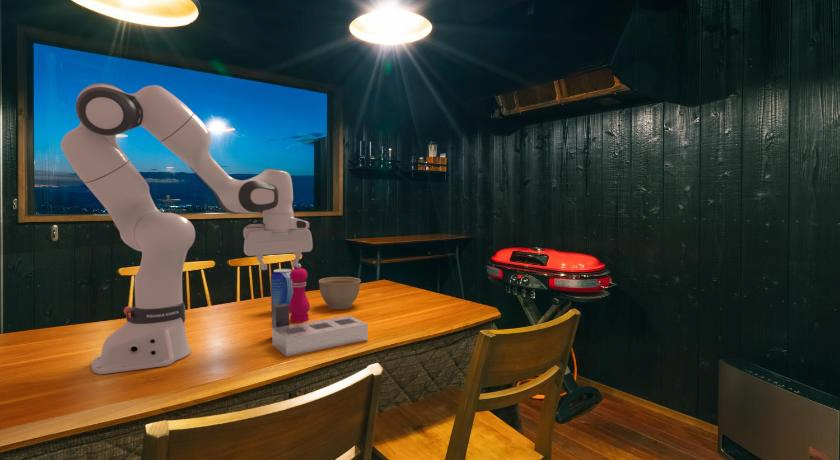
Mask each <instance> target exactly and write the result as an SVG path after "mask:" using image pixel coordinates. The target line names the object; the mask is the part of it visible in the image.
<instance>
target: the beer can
mask: <svg viewBox="0 0 840 460" xmlns="http://www.w3.org/2000/svg"><path fill="white" fill-rule="evenodd" d="M292 270H293V269H291V268H277V269H274V270H273V272H272V274H271V276H270V298H271V300H270V301H271V302H270V303H271V304H270V305H271V311H272V305H275V304H283V303H285V304H287V305H289V303H290V301H291V298H292V295H293V287H292V280H291V279H290V273H291V271H292ZM289 314H291V313H290V311H289Z"/></svg>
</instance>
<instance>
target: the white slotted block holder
mask: <svg viewBox="0 0 840 460" xmlns="http://www.w3.org/2000/svg"><path fill="white" fill-rule="evenodd" d="M368 326H369V325H368V323H367V322H365V321H362V320H360V319H358V318H356V317H353V316H352V315H345V316H344V315H343V316H340V317H339V316H338V317H331V318H326V319H320V320H313V321H309V322H300V323H296V324H289V325H288V326H282V327H276V328H272V327H271V339H272V340H271V341H272V342H271V343H272V346H273V347H274V348H275V349H276V350H278V351H279V352H280V353H281V354H283V355H284V356H285V357H291V356H292V357H293V356H296V355H302V354H306V353H307V354H308V353H311V352H315V351H320V350H321V351H322V350H325V349H330V348H337V347H340V346H345V345H349V344H350V345H352V344H355V343H356V344H357V343H359V342H365V341H368V338H369V337H368V335H369V333H368V332H369V330H368V329H369V327H368Z"/></svg>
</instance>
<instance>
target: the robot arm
mask: <svg viewBox="0 0 840 460" xmlns="http://www.w3.org/2000/svg"><path fill="white" fill-rule="evenodd" d="M75 103H76V104H75V113H76V115H77V118H78V120H79V122H80V123H79V125H78V126H77V127H75V128H73V129H71V130H70V131H68V132H67V133H65V135H64V136H63V138H62V139H61V142H60V148H61V151H62V152H63V154H64V156H65V157H66V158H65V159H66V160H67V161H68V163H69V164H70V166H71V168H72V169H73V170H74V172H75V173H76V175H77V176H78V177H79V178H80V180H81V181H82V182H83V184H85V186H86V187H87V188H88V189H89V190H90V191H91V192H92V194H93V195H94V196H95V198H97V200H98V201H99V203H101V205H102V206H103V207H104V209H105V210H106V212H107V213H108V215H109V216H110V218H111V219H112V221H113V224H114V225H115V227H116V228H117V229H118V231H119V235H120V239H121V240H122V241H123V242H124V244H126V245H127V246H128V247H130V248H132V249H133V250H135V251H137V252H141V254H142V255H141V260H140V265H139V268H138V271H137V272H136V273H135V276H134V301H135V302H134V304H135V306H133V307H131V306H125V307H124V308H123V313H124V315H125V316H126V322H125V323H124V324H123V325H121V326H120V327H119V328H118V329H116V330H114V331H113V333H111V334H110V335H109V336H108V337H107V338H106V339H105V340H104V342H103V345H102V349H101V354H99V355H98V356H96V357H95V358H94V359H93V360H92V361H91V371H92V372H93V373H95V374H98V375H106V374H115V373H120V372H130V371H137V370H144V369H151V368H152V369H153V368H160V367H166V366H170V365H172V364H173V363H174V362H176V361H178V360H181V359H183V358H185V357H187V356H188V355H190V354H191V352H192V350H191V347H190V345H189V341H188V337H187V333H186V327H185V322H186V306H185V305H186V304H185V302H184V300H183V271H184V265H185V263H186V258H187V254H188V251H189V249H190V248H191V247H192V246H193V244H194V242H195V240H196V230H195V227H194V225H193V223H192V222H191V221H190V220H189V219H187V218H186V217H184V216H182V215H179V214H177V213H174V212H162V211H161V210H160V209H158V207H157V206H156V204H155V203H154V200H153V199H152V195H151V193H150V186H149V184H148V183H147V181H146V179H145V178H144V177H143V175H141V173H140V172H139V170H138V169H137V168H136V167H135V165H134V164H133V163H132V162H131V160H130V159H129V158H128V156H127V155H126V153H124V151H123V150H122V148H121V147H120V144H119V143H118V141H117V135H120V134H123V133H125V132H128V131H130V130H132V129H136V128H138V127H141V128H143V129H144V130H146V131H147V132H149V133H150V135H152V136H153V137H154V138H156V140H158V141H159V142H160V143H161V144H162V145H163V146H164V147H165V148H167V149H168V150H169V151H170V152H171V153H173V154H174V155H175V156H176V157H178V158H179V159H180V160H181V161H182V162H184V163H185V164H186V165H187V167H189V168H190V169H191V170H192V172H193V173H194V174H196V175H197V176H198V178H200V180H202V182H203V183H204V184H205V185H206V186H207V187H208V188H209V189H210V190H211V191H212V192H213V194H214V196H215V198H216V200H217V202H218V204H219V206H220V207H221V209H223V210H224V211H225V212H227V213H230V214H233V215H238V214H257V213H261V212H262V219H263V220H262V221H263V222H262V223H257V224H253V223H250V224H248V225H246V226H244V227H243V230H242V233H243V234H242V235H243V239H244V241H243V243H244V244H243V253H244V254H245V255H246V256H248V257H253V256H256V259H257V261H258V263H259V264H260V270H261V271H267V270H268V263H266V262H265V263H264V261H263V259H264V256H267V255H269V256H270V255H281V254H284V255H285V254H294V256H295V258H294V260H292V261H291V267H292V268H296V267H298V264H299V260H300V259H301V258H302V253H308V252H309V253H310V252H311V251H312V250H313V248H314V247H313V246H314V245H313V237H312V232H311V231H310V229H309V228H310V222H309V221H306V220H303V219H300V218H298V217H294V209H293V201H294V189H293V182H292V177H291V174H290V173H289V172H287V171H286V170H282V169H277V168H266V169H264V171H263V172H261V173H259V174H258V175H255V176H253V177H251V178H248V179H244V180H242V179H241V180H240V179H236V178H234V177H232V176H230V175H229V174H228V173H227V172H226V171H225V170H224V169H223V168H222V166H220V165H219V164H218V162H217V161H216V160H215V159H214V158H213V156H212V155H211V153H210V146H211V143H212V136H211V132H210V131H209V128H208V127H207V126H206V124H205V123H204V122H203V121H202V119H201V118H200V117H198V115H197V114H195V112H193V111H192V110H191V108H189V107H188V106H187V105H186V104H185V103H184V102H183V101H181V100H180V99H179V98H178V97H176V96H175V95H174V94H172V93H171V92H170V91H168V90H167V89H165V88H164V87H163V86H161V85H155V84H153V85H147V86H144V87H142V88H140V89H139V90H138V91H137V92H134V93H127V92H124V91H123V90H122V89H121V88H120V87H118V86H115V85H113V84H110V83H106V82H105V83H103V82H99V83H94V84H93V83H92V84H90V85H88V86H86V87H85V88H83V89H82V90H81V91H80V92H79V94H78V95H77V98H76V102H75Z"/></svg>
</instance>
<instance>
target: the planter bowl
mask: <svg viewBox="0 0 840 460" xmlns="http://www.w3.org/2000/svg"><path fill="white" fill-rule="evenodd" d="M361 282H362V281H361V278H357V277H352V276H334V277H333V276H331V277H324V278H321V279H319V280H318V285H319V291H320V294H321V298H322V300H323V301H324V303H325V304H326V306H327V308H328V309H330V310H348V309H350V308H352V307H353V303H354V302H355V301H356V300H357V297H358V295H359V292H360V287H361Z"/></svg>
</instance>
